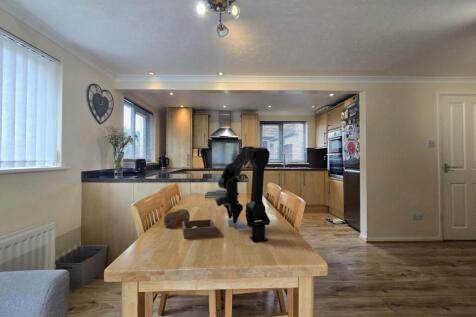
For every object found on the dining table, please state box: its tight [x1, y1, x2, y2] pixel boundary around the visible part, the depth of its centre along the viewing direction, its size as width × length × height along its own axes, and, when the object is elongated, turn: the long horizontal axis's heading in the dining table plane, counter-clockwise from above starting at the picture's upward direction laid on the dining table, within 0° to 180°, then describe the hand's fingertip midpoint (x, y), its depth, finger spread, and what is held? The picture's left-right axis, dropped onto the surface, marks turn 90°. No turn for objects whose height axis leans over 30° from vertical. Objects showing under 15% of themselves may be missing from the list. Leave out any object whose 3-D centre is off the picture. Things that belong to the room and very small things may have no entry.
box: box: [181, 218, 218, 240], centre depth 116 cm, size 14×14×5 cm
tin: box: [163, 208, 190, 229], centre depth 130 cm, size 15×3×8 cm, turn 143°
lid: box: [226, 217, 252, 232], centre depth 128 cm, size 16×16×5 cm
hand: (232, 221), depth 128 cm, fingers open, 9 cm apart
